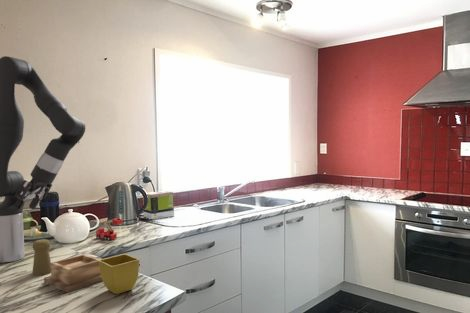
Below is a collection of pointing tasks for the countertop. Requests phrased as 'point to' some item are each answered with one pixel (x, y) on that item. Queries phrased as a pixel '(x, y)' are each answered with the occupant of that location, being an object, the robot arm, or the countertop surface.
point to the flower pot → (119, 272)
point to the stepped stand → (74, 273)
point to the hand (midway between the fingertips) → (24, 208)
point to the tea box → (159, 205)
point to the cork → (41, 258)
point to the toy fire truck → (110, 232)
